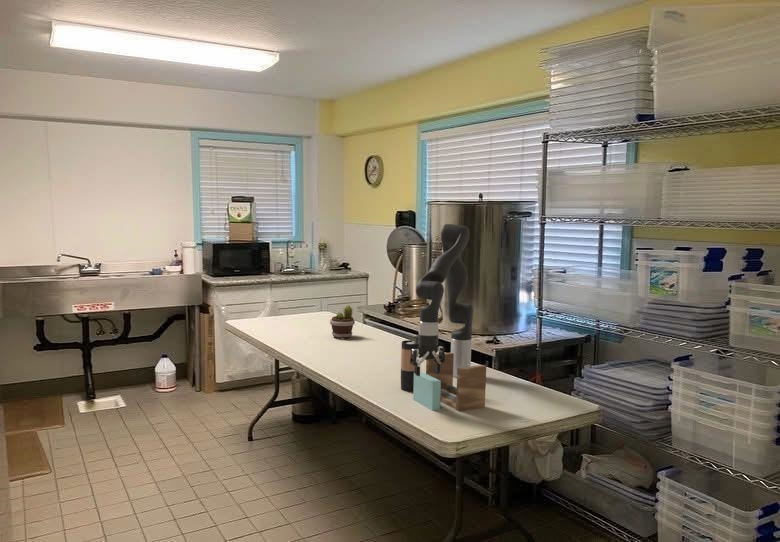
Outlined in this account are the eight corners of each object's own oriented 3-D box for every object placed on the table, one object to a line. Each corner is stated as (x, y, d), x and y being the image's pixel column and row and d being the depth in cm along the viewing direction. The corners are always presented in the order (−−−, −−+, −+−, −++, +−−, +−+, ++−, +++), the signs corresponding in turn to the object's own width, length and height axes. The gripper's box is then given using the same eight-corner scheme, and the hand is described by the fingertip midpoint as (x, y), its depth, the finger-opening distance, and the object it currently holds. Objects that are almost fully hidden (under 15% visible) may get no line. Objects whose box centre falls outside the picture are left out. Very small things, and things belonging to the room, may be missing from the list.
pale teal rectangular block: (413, 399, 233) (413, 372, 232) (420, 398, 235) (421, 371, 234) (432, 410, 221) (432, 382, 220) (439, 409, 222) (440, 380, 221)
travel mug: (403, 392, 242) (404, 344, 240) (397, 386, 250) (399, 340, 248) (420, 391, 245) (422, 343, 243) (415, 385, 252) (416, 339, 250)
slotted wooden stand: (425, 393, 241) (426, 355, 240) (449, 389, 247) (451, 352, 246) (459, 411, 220) (460, 369, 219) (484, 406, 226) (486, 366, 225)
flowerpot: (328, 339, 339) (328, 305, 337) (331, 334, 354) (332, 301, 352) (353, 340, 338) (353, 306, 336) (355, 335, 354) (356, 302, 352)
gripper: (438, 330, 232) (437, 370, 233) (407, 332, 225) (406, 374, 226) (449, 333, 225) (448, 375, 226) (417, 336, 218) (416, 379, 220)
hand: (427, 374), depth 226 cm, fingers open, 8 cm apart
